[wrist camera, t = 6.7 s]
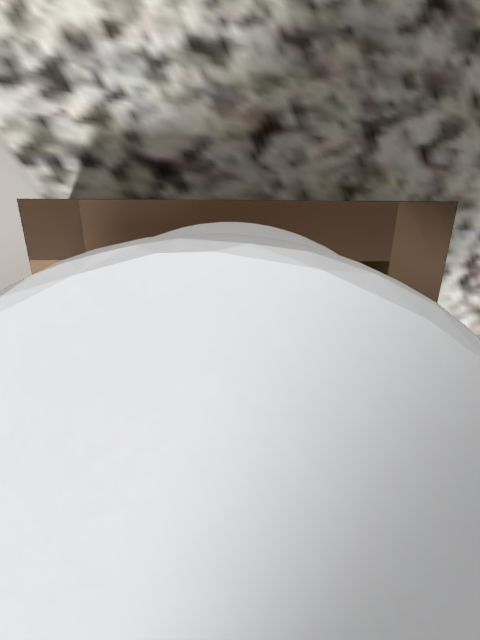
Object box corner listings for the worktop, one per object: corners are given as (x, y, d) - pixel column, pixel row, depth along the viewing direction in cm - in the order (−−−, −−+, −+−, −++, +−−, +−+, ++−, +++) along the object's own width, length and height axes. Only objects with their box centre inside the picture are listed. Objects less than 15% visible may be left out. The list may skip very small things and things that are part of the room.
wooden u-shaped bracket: (368, 444, 13) (397, 493, 11) (105, 446, 13) (76, 497, 11) (407, 204, 10) (458, 201, 8) (67, 202, 10) (16, 199, 8)
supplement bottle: (343, 354, 11) (990, 696, 2) (228, 452, 11) (167, 1284, 2) (243, 237, 11) (274, -234, 1) (127, 338, 11) (-596, 592, 2)
